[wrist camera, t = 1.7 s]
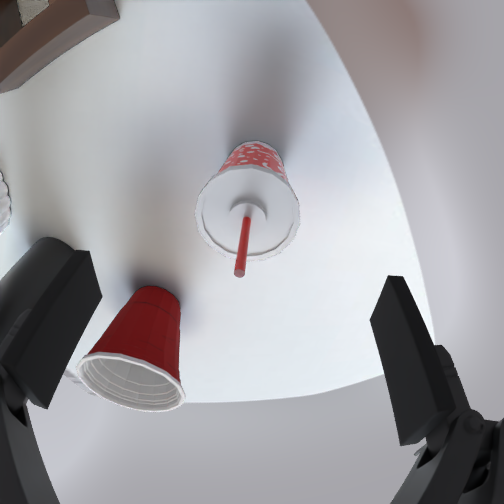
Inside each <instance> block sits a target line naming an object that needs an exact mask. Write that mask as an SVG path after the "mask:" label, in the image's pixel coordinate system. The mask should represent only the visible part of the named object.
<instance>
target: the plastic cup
mask: <svg viewBox="0 0 504 504" xmlns="http://www.w3.org/2000/svg"><path fill="white" fill-rule="evenodd" d="M180 316H181V312H180V306H179V302H178V301H177V299H176V298H175V297H174V295H173V294H171V293H170V292H168V291H167V290H165V289H162V288H160V287H157V286H145V287H142V288H140V289H139V290H138V291H136V292H135V293H134V295H133V296H132V297H131V298H130V300H129V301H128V302H127V304H126V305H125V306H124V307H123V308H122V309H121V310H120V311H119V313H118V314H117V316H116V317H115V318H114V320H113V321H112V322H111V324H110V325H109V327H108V328H107V329H106V331H105V332H104V334H103V335H102V336H101V338H100V339H99V340H98V341H97V343H96V344H95V345H94V347H93V348H92V349H91V350H90V352H89V353H88V354H87V355H84V357H83V358H82V359H81V360H80V362H79V363H78V364H77V365H76V370H77V375H78V377H79V378H80V380H81V381H82V382H83V383H84V385H85V386H86V387H87V388H88V389H90V390H91V391H93V392H94V393H96V394H97V395H98V396H100V397H101V398H104V399H106V400H108V401H110V402H112V403H114V404H117V405H119V406H123V407H126V408H130V409H134V410H138V411H148V412H162V411H171V410H173V409H175V408H177V407H180V406H182V404H183V402H184V400H185V397H186V396H185V393H184V390H183V388H182V386H181V382H180V378H179V344H180V329H179V327H180Z"/></svg>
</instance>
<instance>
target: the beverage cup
mask: <svg viewBox="0 0 504 504" xmlns="http://www.w3.org/2000/svg"><path fill="white" fill-rule="evenodd" d="M195 218H196V222H197V227H198V231H199V233H200V234H201V235H202V237H203V238H204V240H205V241H206V242H207V244H208V245H209V246H210V247H211V248H213V249H214V250H216V251H217V252H219V253H220V254H222V255H223V256H225V257H228V258H232V259H236V264H235V270H234V275H235V276H236V277H243V276H244V275H245V267H246V261H261V260H265V259H267V258H270V257H272V256H275V255H277V254H279V253H281V252H282V251H283V250H284V249H285V248H286V247H287V246H288V245H289V244H290V243H291V242H292V241H293V240H294V237H295V235H296V233H297V230H298V228H299V226H300V209H299V202H298V199H297V197H296V195H295V193H294V191H293V190H292V188H291V186H290V184H289V183H288V180H287V176H286V173H285V170H284V166H283V163H282V160H281V158H280V156H279V155H278V153H277V151H276V150H275V149H274V148H272V147H271V146H270V145H268V144H266V143H263V142H259V141H251V142H245V143H243V144H241V145H239V146H237V147H236V148H235V149H234V150H233V152H232V153H231V154H230V155H229V157H228V158H227V160H226V161H225V163H224V164H223V166H222V167H221V169H220V170H219V172H218V173H217V174H215V175H213V177H212V178H211V179H210V180H209V182H208V183H207V184H206V186H205V187H204V188H203V189H202V191H201V192H200V194H199V196H198V200H197V205H196V209H195Z"/></svg>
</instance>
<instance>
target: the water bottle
mask: <svg viewBox="0 0 504 504" xmlns="http://www.w3.org/2000/svg"><path fill="white" fill-rule="evenodd" d="M74 252H75V251H74V250H73V249H72V248H71V247H70V246H68V245H67V244H66V243H64V242H62V241H60V240H58V239H55V238H50V237H45V238H42V239H40V240H38V241H37V242H36V243H35V244H34V245H33V246H32V247H31V248H30V249H29V250H28V251H27V252H26V253H25V254H24V255H23V256H22V258H21V259H20V260H19V261H18V262H17V263H16V264H15V265H14V266H13V267H12V268H11V269H10V270H9V271H8V272H7V274H6V275H5V276H4V277H3V278H2V279H1V280H0V345H1V343H2V341H3V340H4V338H5V337H6V335H8V332H9V330H10V329H11V327H13V324H14V323H15V321H16V320H17V318H18V317H19V316H20V315H21V314H22V313H23V312H24V311H25V310H27V309H33V307H34V306H35V304H36V303H37V301H38V300H39V299H40V297H41V296H42V294H43V293H44V291H45V290H46V289H47V287H48V286H49V284H50V283H51V282H52V280H53V279H54V278H55V276H56V275H57V274H58V272H59V271H60V270H61V268H62V267H63V266H64V264H65V263H66V262H67V261H68V259H69V258H70V257H71V256H72V254H73V253H74ZM27 401H28V398H27V396H26V398H25V400H24V402H25V404H26V403H27Z"/></svg>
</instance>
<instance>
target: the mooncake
mask: <svg viewBox="0 0 504 504" xmlns="http://www.w3.org/2000/svg"><path fill="white" fill-rule="evenodd" d="M7 193H8V188H7V186H6V184H5V183H4V182H3V176H2V174H1V172H0V235H1V234H2V233H3V232H4V230H5V228H7V227H8V225H9V220H8V219H9V218H10V216H11V211H10V209H9V207H10V203H11V202H10V198H9V196H8V195H7Z"/></svg>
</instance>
